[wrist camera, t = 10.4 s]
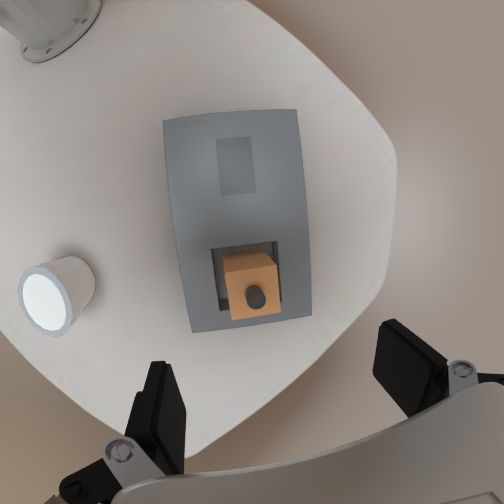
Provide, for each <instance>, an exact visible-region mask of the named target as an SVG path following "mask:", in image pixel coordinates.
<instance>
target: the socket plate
mask: <svg viewBox="0 0 504 504" xmlns="http://www.w3.org/2000/svg"><path fill="white" fill-rule="evenodd" d="M163 129H164V144H165V156H166V168H167V178H168V188H169V197H170V205H171V213H172V221H173V228H174V235H175V242H176V248H177V255H178V261H179V267H180V273H181V278H182V284H183V289H184V295H185V300H186V305H187V310H188V315H189V320H190V324H191V329H192V333H197V332H206V331H215V330H223V329H231V328H238V327H245V326H252V325H259V324H265V323H271V322H277V321H283V320H289V319H295V318H300V317H306V316H311V315H312V298H311V269H310V248H309V231H308V216H307V203H306V191H305V180H304V170H303V160H302V151H301V142H300V134H299V126H298V118H297V111H296V109H279V110H251V111H235V112H223V113H213V114H204V115H196V116H189V117H182V118H176V119H169V120H164V121H163ZM264 242H272V244H273V256H274V263H275V264H276V265H277V274H278V285H279V296H280V307H281V312H279V313H273V314H267V315H262V316H256V317H249V318H243V319H237V320H232V318H231V312H230V306H229V300H225V301H219V297H218V290H217V284H216V277H215V270H214V263H213V255H212V249H216V248H224V247H232V246H240V245H248V244H256V243H264Z"/></svg>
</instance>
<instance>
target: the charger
mask: <svg viewBox="0 0 504 504" xmlns="http://www.w3.org/2000/svg"><path fill="white" fill-rule="evenodd" d="M222 257H223V266H224V274H225V280H226V287H227V293H228V299H229V306H230V312H231V318H232V320H237V319H243V318H249V317H256V316H262V315H267V314H273V313H279V312H281V307H280V296H279V285H278V274H277V265H276V264H275V263H274V261H273V260H272V259H271V258H270V257H269V255H268V254H267V253H266V252H265V251H264V250H263V248H261V249H254V250H247V251H240V252H233V253H226V254H222Z"/></svg>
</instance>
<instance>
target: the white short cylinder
mask: <svg viewBox="0 0 504 504" xmlns="http://www.w3.org/2000/svg"><path fill="white" fill-rule="evenodd" d="M94 292H95V278H94V275H93V273H92V270H91V269H90V267H89V266H88V265H87V263H86V262H85V261H83V260H82V259H80V258H78V257H74V256H68V257H64V258H61V259H57V260H54V261H50V262H47V263H44V264H40V265H37V266H34V267H32V268H29V269H27V270H25V272H24V273H23V275H22V276H21V278H20V281H19V287H18V294H19V300H20V305H21V307H22V309H23V312H24V314H25V316H26V317H27V319H28V320H29V321H30V323H31V324H32V325H33V326H34V327H35V328H36V329H37V330H39V331H40V332H41V333H43V334H45V335H48V336H52V337H57V336H62V335H64V334H65V333H66V332H67V331H68V329H69V328H70V327H71V326H72V324H73V323H74V321H75V320H76V319H77V317H78V316H79V315H80V313H81V312H82V310H83V309H84V308H85V306H86V305H87V304H88V302H89V301H90V300H91V299H92V297H93V295H94Z"/></svg>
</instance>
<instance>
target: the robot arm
mask: <svg viewBox="0 0 504 504" xmlns="http://www.w3.org/2000/svg"><path fill="white" fill-rule="evenodd" d="M100 8H101V0H0V26H1V27H2V28H4V29H5V30H7V31H8V32H10V33H11V34H12V35H14V36H15V37H17V38H18V39H19V40H21V41H22V43H21V53H22V56H23V57H24V58H25V59H26V60H28V61H30V62H33V63H35V62H42V61H46V60H48V59H50V58H53V57H54V56H56V55H58V54H59V53H61V52H62V51H64V50H65V49H67V48H68V47H69V46H71V45H72V44H73V43H74V42H75V41H77V40H78V39H79V38H80V37H81V36H82V35H83V34H84V33H85V31H86V30H87V29H88V28H89V27H90V26H91V24H92V23H93V21H94V20H95V18H96V17H97V15H98V13H99V10H100ZM373 375H374V377H375V378H376V379H377V381H378V382H379V383H380V384H381V385H382V386H383V388H384V389H385V390H386V391H387V392H388V394H389V395H390V396H391V397H392V399H393V400H394V401H395V402H396V403H397V405H398V406H399V407H400V408H401V409H402V411H403V412H404V413H405V414H406V415H407V417H408V419H406V420H404V421H402V422H400V423H397V424H395V425H393V426H391V427H389V428H386V429H384V430H382V431H379V432H377V433H374V434H372V435H369V436H367V437H364V438H362V439H359V440H356V441H353V442H351V443H348V444H345V445H342V446H339V447H336V448H333V449H329V450H326V451H323V452H319V453H316V454H312V455H308V456H304V457H300V458H296V459H292V460H288V461H283V462H278V463H273V464H268V465H262V466H256V467H249V468H242V469H235V470H226V471H217V472H204V473H192V474H184V453H185V430H186V408H185V405H184V402H183V400H182V397H181V394H180V391H179V388H178V385H177V382H176V379H175V376H174V373H173V370H172V367H171V365H170V364H166V362H165V361H152V362H151V365H150V368H149V371H148V375H147V378H146V382H145V385H144V389H143V391H138V392H137V393H136V396H135V399H134V403H133V406H132V410H131V413H130V417H129V420H128V424H127V427H126V431H125V435H124V436H119V437H114V438H111V439H110V440H108V441H107V442H106V443H105V444H104V445H103V447H102V451H101V454H102V457H103V458H101V459H100V460H98V461H96V462H94V463H92V464H90V465H89V466H87V467H85V468H83V469H81V470H79V471H77V472H75V473H73V474H71V475H69V476H67V477H66V478H64V479H63V480H62V482H61V483H60V486H59V492H60V494H59V495H58V496H57V497H56V496H55V495H53V496H52V497H51V498H50V499H49V500H48V501H46V502H45V503H44V504H504V375H503V374H486V373H477V372H476V368H475V366H474V365H473V364H472V363H470V362H469V361H465V360H456V361H453V362H452V363H450V365H449V366H448V365H447V359H446V358H444V357H443V356H442V355H441V354H440V353H438V352H437V351H436V350H434V349H433V348H432V347H431V346H429V345H428V344H427V343H426V342H424V341H423V340H422V339H420V338H419V337H418V336H416V335H415V334H414V333H413V332H411V331H410V330H409V329H407V328H406V327H405V326H403V325H402V324H401V323H399V322H398V321H397V320H396V319H390V320H387V321H384V322H383V323H382V325H381V326H380V327H379V332H378V340H377V347H376V353H375V360H374V366H373Z"/></svg>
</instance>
